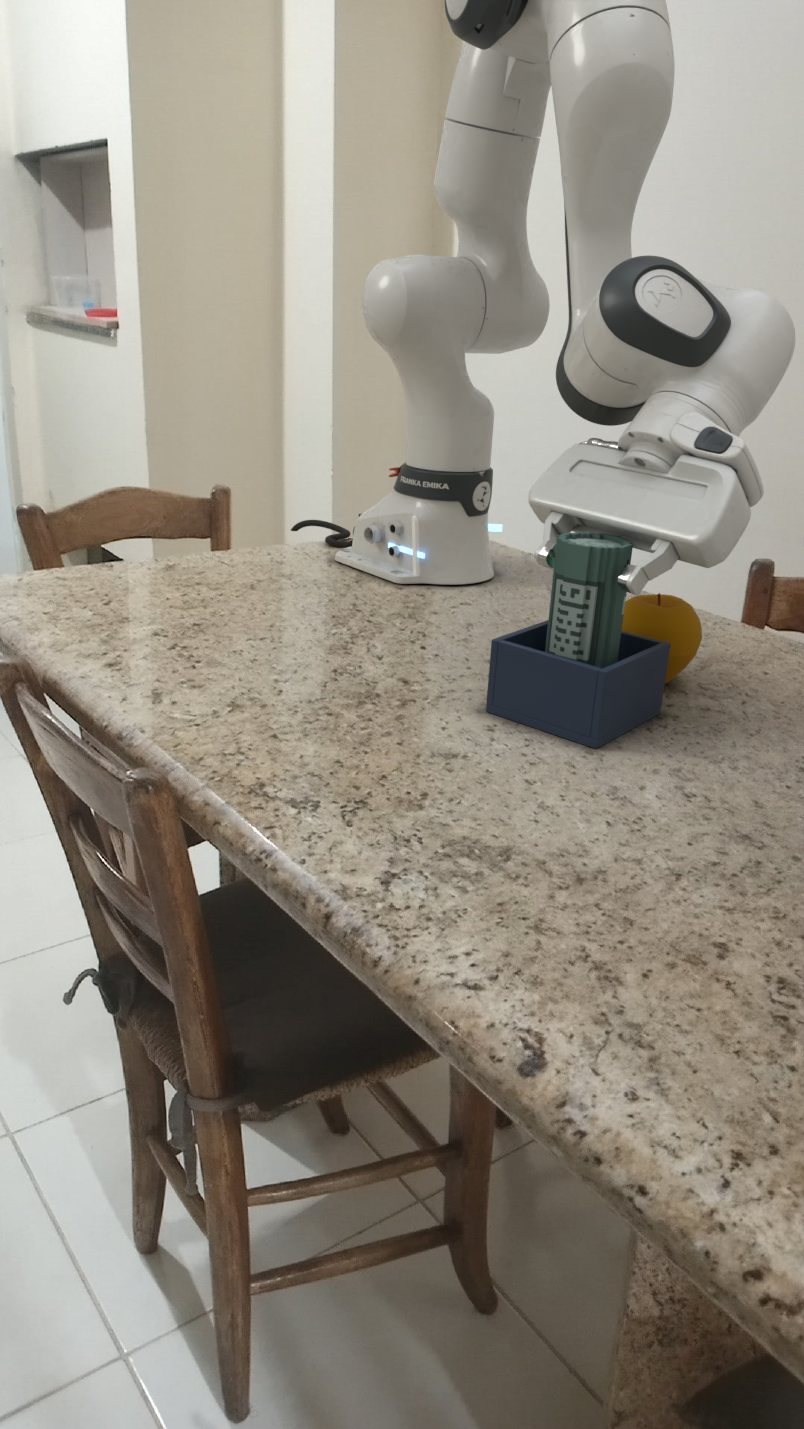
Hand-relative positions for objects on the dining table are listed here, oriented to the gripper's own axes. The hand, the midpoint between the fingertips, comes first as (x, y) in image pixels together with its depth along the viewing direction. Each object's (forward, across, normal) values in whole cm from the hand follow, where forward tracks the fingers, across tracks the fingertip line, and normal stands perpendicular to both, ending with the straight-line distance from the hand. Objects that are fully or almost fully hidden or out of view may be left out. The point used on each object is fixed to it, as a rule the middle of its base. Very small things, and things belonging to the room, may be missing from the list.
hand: (582, 575), depth 88 cm
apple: (0, -1, +19) cm, 19 cm away
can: (+8, 0, +9) cm, 12 cm away
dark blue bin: (+9, 0, +9) cm, 13 cm away
